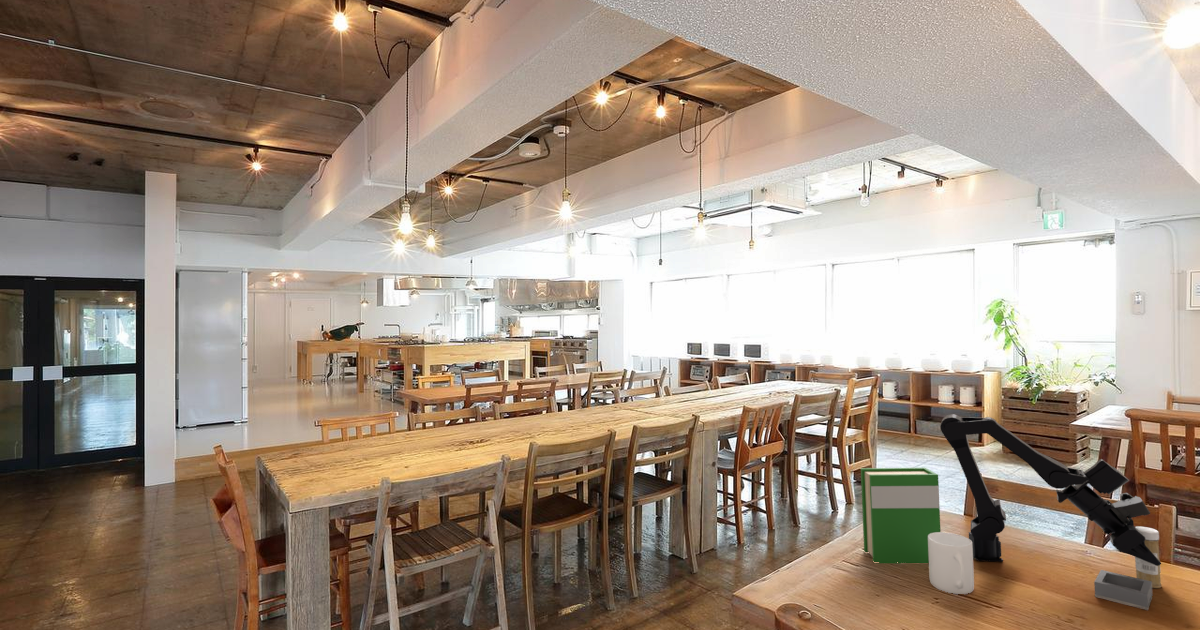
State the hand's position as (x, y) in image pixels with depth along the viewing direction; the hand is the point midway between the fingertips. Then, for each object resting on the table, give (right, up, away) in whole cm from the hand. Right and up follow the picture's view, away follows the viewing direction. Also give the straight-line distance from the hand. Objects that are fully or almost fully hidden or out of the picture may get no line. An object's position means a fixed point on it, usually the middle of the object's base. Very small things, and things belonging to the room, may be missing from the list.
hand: (1154, 557), depth 138 cm
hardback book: (-50, -9, +21) cm, 55 cm away
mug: (-47, -9, +2) cm, 48 cm away
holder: (-12, -7, -5) cm, 15 cm away
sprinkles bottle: (-1, -7, +1) cm, 7 cm away
